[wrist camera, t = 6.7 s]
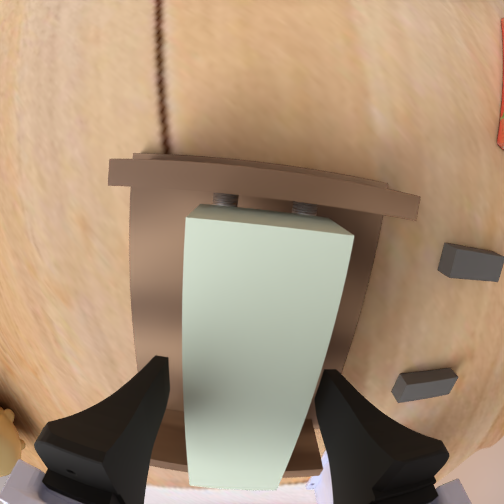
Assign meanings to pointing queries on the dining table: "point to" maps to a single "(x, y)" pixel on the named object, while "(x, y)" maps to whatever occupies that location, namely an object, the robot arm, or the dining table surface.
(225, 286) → the shelf plank
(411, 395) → the block
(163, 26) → the dining table surface
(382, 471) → the robot arm
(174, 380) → the walnut carcass
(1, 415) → the yellow animal figurine
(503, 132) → the cracker box
